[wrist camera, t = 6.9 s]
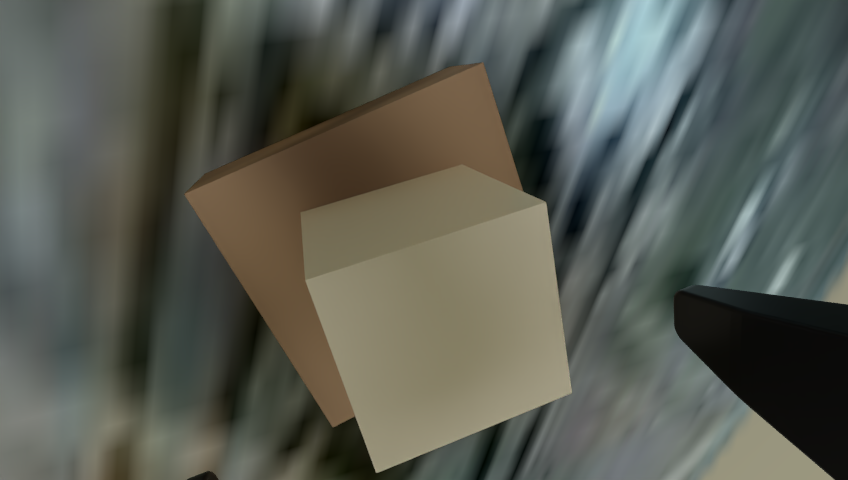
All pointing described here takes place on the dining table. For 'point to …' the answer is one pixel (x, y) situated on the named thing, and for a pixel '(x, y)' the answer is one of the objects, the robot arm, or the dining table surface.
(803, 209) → the dining table surface
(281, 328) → the walnut block
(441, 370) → the cube
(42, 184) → the dining table surface
